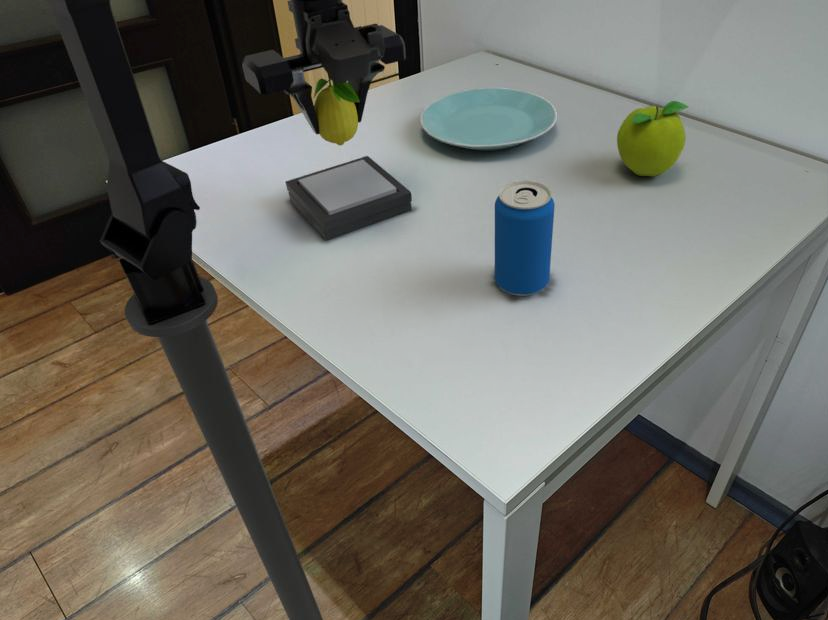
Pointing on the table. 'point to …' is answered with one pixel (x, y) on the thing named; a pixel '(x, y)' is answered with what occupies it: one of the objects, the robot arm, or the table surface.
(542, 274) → the beverage can
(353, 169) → the scale pan
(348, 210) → the scale
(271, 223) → the table surface
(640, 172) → the fruit
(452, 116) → the plate
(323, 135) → the lemon
